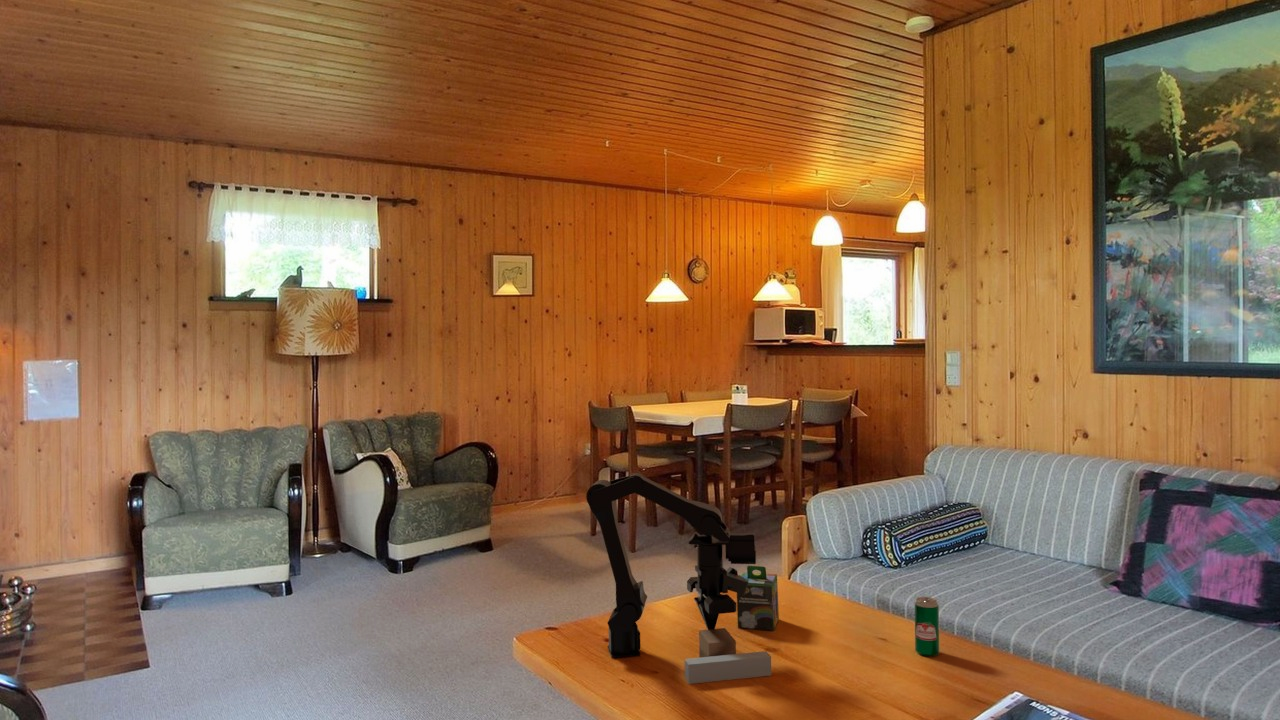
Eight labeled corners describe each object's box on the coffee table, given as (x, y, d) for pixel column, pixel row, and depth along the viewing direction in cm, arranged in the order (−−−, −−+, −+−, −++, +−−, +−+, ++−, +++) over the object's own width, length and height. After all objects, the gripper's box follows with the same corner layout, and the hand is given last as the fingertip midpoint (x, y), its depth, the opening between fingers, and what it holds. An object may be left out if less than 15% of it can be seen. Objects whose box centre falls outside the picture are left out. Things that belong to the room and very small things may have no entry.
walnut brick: (709, 671, 167) (708, 643, 167) (699, 656, 174) (699, 630, 174) (736, 668, 168) (735, 640, 168) (725, 654, 176) (724, 628, 176)
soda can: (913, 655, 173) (912, 601, 173) (917, 647, 178) (916, 594, 178) (937, 659, 171) (937, 604, 171) (940, 650, 176) (940, 597, 175)
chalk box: (779, 619, 198) (778, 561, 198) (774, 631, 189) (773, 571, 189) (743, 616, 201) (742, 558, 201) (736, 628, 192) (735, 568, 192)
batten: (688, 684, 160) (688, 664, 160) (684, 678, 163) (684, 659, 163) (771, 675, 164) (771, 656, 164) (766, 669, 167) (766, 651, 167)
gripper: (758, 572, 168) (759, 643, 168) (730, 550, 186) (731, 615, 187) (709, 576, 166) (710, 649, 166) (685, 553, 184) (686, 619, 184)
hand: (711, 632), depth 176 cm, fingers closed
